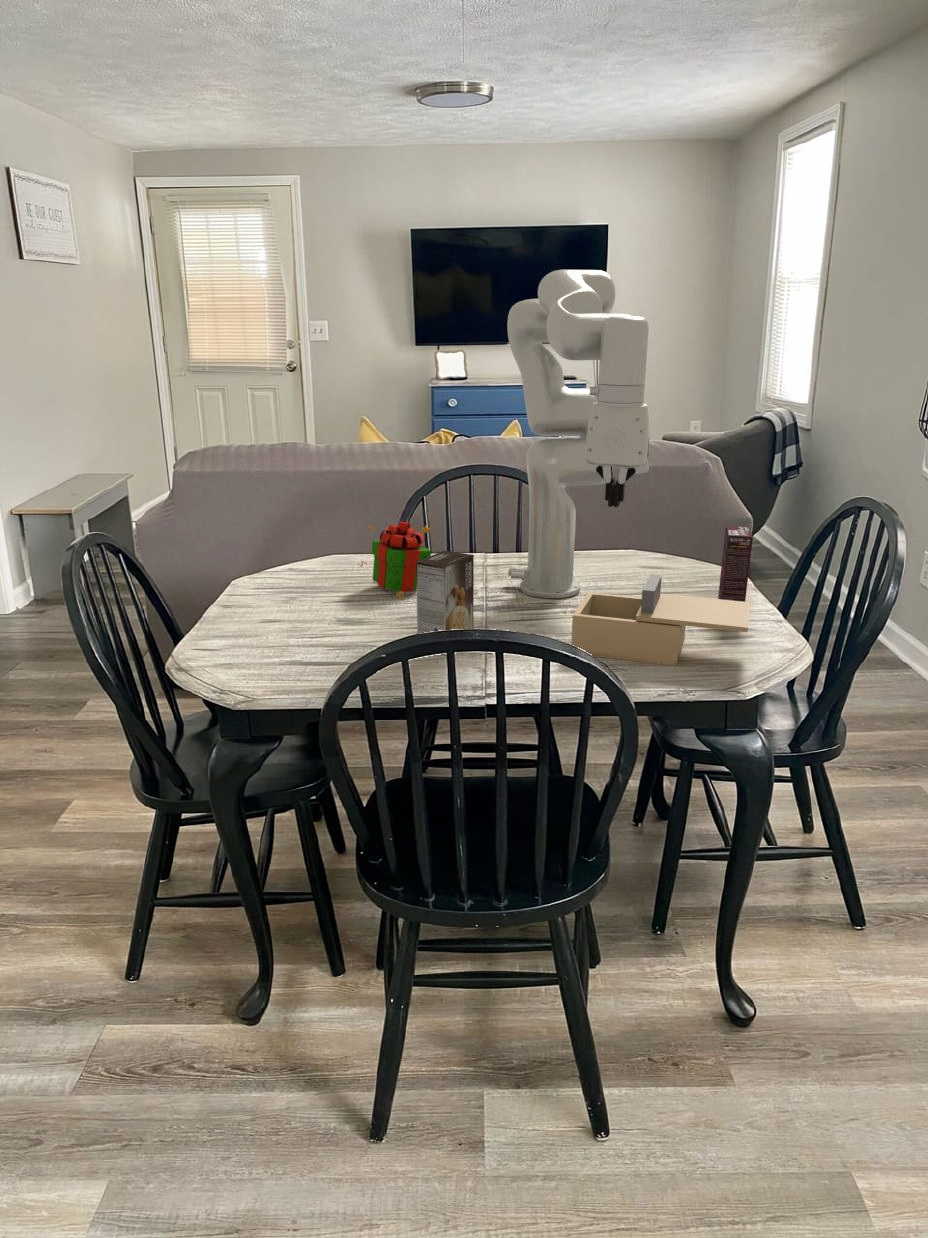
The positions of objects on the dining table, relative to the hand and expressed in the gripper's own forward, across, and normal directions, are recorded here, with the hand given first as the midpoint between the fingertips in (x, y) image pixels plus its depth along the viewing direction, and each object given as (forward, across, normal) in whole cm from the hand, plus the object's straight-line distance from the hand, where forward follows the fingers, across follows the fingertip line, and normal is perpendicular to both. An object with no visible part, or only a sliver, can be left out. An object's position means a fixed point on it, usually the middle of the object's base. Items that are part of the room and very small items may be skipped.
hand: (614, 505), depth 158 cm
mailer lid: (+18, +15, 0) cm, 23 cm away
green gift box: (+26, -49, +20) cm, 59 cm away
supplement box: (+25, +20, +28) cm, 42 cm away
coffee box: (+25, -27, -10) cm, 38 cm away
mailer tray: (+25, +4, 0) cm, 25 cm away
